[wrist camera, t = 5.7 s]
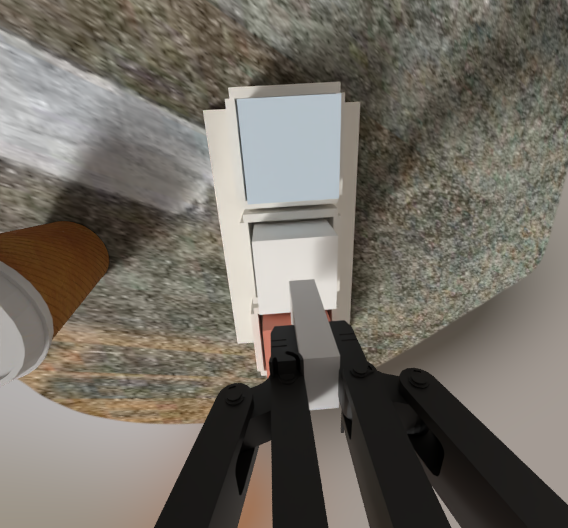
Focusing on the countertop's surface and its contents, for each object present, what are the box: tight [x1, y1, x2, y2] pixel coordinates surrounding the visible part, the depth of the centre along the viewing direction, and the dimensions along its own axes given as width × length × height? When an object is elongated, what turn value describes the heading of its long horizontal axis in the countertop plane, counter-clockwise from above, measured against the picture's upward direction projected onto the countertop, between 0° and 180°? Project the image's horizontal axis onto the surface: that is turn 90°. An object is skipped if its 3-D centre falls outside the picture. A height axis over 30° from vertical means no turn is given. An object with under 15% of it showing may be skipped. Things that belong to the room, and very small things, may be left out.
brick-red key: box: [263, 310, 330, 379], centre depth 26 cm, size 6×6×4 cm
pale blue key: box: [237, 93, 341, 204], centre depth 18 cm, size 6×6×4 cm
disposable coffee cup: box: [0, 221, 109, 387], centre depth 21 cm, size 10×10×12 cm
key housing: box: [203, 82, 360, 376], centre depth 25 cm, size 24×12×5 cm, turn 3°
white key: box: [252, 220, 338, 315], centre depth 21 cm, size 6×6×4 cm
